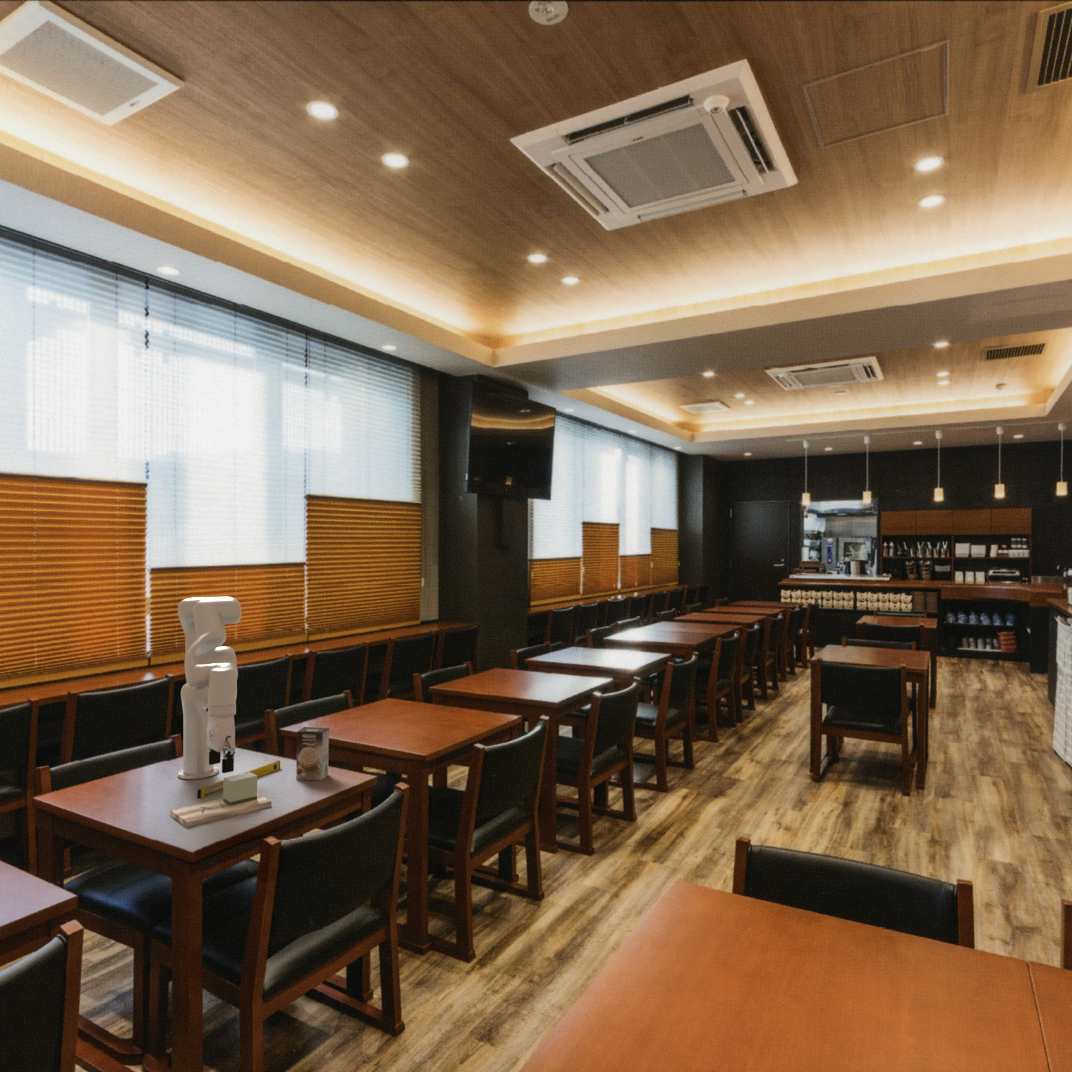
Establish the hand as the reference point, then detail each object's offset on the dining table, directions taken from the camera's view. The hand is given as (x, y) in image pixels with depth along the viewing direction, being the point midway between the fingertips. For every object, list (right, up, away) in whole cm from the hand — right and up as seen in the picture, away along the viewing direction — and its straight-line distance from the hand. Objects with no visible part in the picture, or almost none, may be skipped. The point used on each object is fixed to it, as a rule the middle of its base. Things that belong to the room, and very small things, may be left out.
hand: (221, 767), depth 216 cm
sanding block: (+4, -11, +3) cm, 12 cm away
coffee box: (+18, -13, +30) cm, 37 cm away
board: (+1, -12, -1) cm, 12 cm away
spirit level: (-4, -13, +25) cm, 28 cm away
